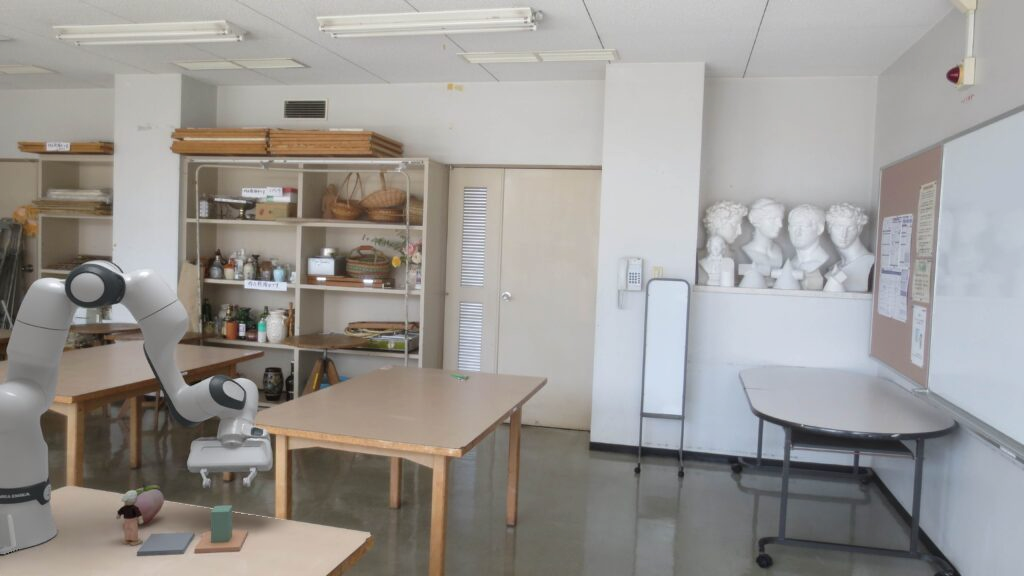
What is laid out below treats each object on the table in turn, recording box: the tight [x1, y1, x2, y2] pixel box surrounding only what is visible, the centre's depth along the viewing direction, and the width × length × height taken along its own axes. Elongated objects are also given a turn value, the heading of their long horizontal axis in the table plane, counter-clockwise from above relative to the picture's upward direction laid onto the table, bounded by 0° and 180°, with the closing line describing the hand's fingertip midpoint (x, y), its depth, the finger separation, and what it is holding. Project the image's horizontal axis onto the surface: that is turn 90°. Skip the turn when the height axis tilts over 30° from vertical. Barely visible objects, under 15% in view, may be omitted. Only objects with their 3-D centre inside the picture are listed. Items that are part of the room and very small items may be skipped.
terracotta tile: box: [194, 529, 249, 554], centre depth 172 cm, size 10×10×1 cm
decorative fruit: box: [123, 484, 165, 524], centre depth 182 cm, size 9×8×10 cm
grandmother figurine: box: [115, 489, 144, 546], centre depth 171 cm, size 8×4×13 cm, turn 84°
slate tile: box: [136, 531, 196, 557], centre depth 170 cm, size 10×10×1 cm
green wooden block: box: [210, 504, 233, 543], centre depth 172 cm, size 4×4×8 cm
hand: (226, 486), depth 176 cm, fingers open, 8 cm apart
